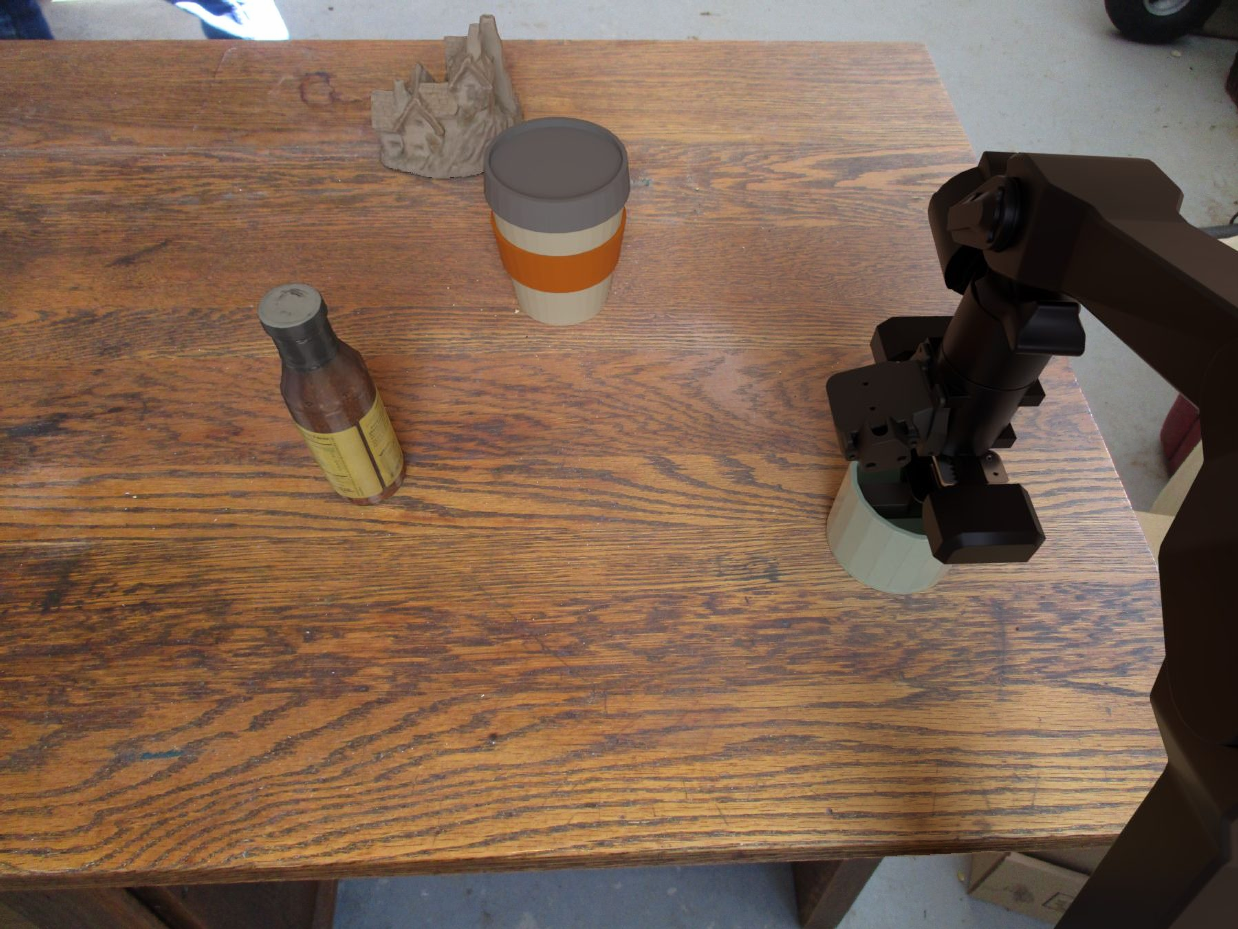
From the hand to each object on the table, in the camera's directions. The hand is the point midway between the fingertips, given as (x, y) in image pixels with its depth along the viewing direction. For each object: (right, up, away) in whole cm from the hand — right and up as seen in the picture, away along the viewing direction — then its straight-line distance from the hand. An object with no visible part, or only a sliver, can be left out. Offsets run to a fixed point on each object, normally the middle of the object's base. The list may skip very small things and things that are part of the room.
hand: (910, 500), depth 61 cm
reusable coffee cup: (-27, +19, +20) cm, 39 cm away
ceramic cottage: (-40, +40, +35) cm, 67 cm away
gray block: (0, -1, +1) cm, 1 cm away
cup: (0, -3, +5) cm, 6 cm away
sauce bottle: (-42, +1, +7) cm, 43 cm away
